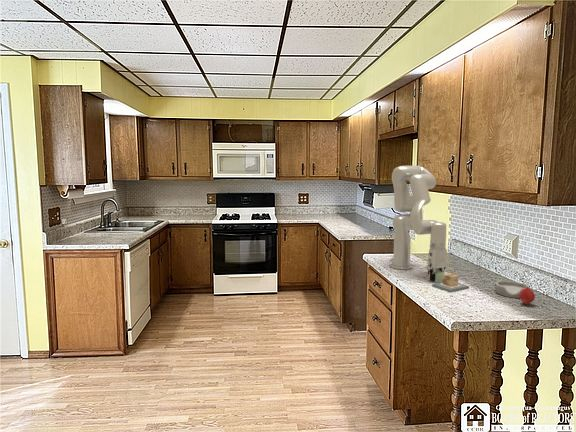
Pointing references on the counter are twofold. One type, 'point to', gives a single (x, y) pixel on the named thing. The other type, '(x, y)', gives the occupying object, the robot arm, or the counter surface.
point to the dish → (509, 288)
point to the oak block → (450, 279)
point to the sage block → (438, 276)
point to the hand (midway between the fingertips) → (436, 279)
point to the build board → (450, 289)
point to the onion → (527, 295)
